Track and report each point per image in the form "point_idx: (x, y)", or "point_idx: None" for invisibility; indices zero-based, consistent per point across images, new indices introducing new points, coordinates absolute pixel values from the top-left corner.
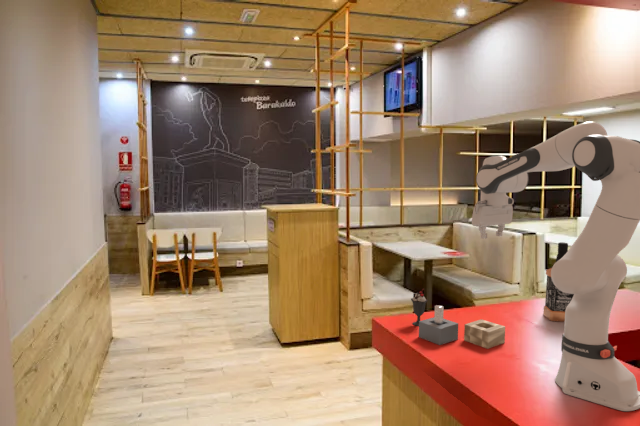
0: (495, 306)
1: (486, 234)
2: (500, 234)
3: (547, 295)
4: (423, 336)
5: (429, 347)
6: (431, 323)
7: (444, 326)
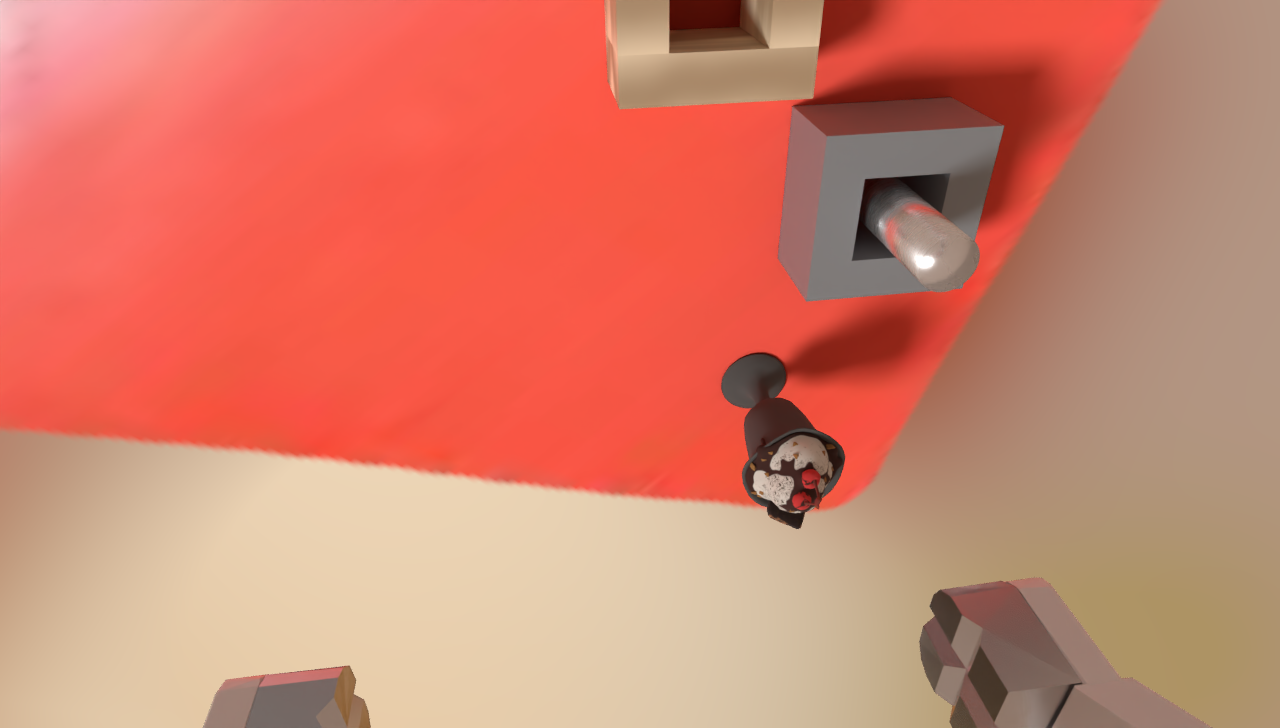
0: (60, 404)
1: (1037, 663)
2: (312, 706)
3: None
4: None
5: (1017, 105)
6: None
7: (946, 142)
